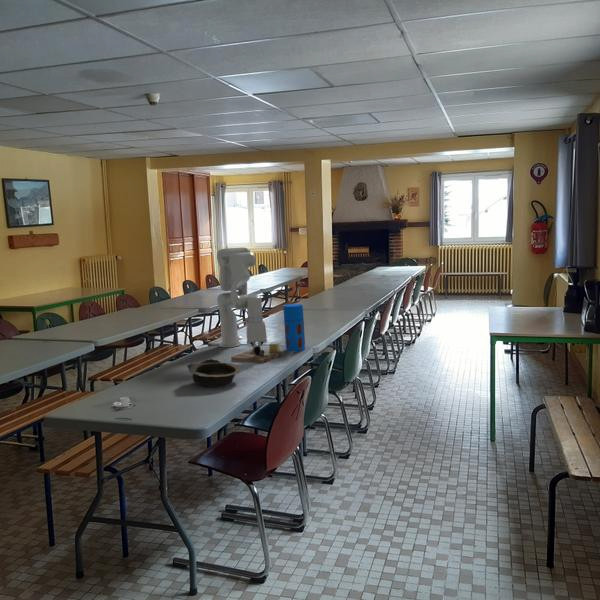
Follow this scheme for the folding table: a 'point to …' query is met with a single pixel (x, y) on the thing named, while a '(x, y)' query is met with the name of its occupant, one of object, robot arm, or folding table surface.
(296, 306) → the thermos
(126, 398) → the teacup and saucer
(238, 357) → the plate
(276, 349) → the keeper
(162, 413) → the folding table surface
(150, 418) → the folding table surface
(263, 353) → the lock bar
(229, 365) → the brown round bowl
